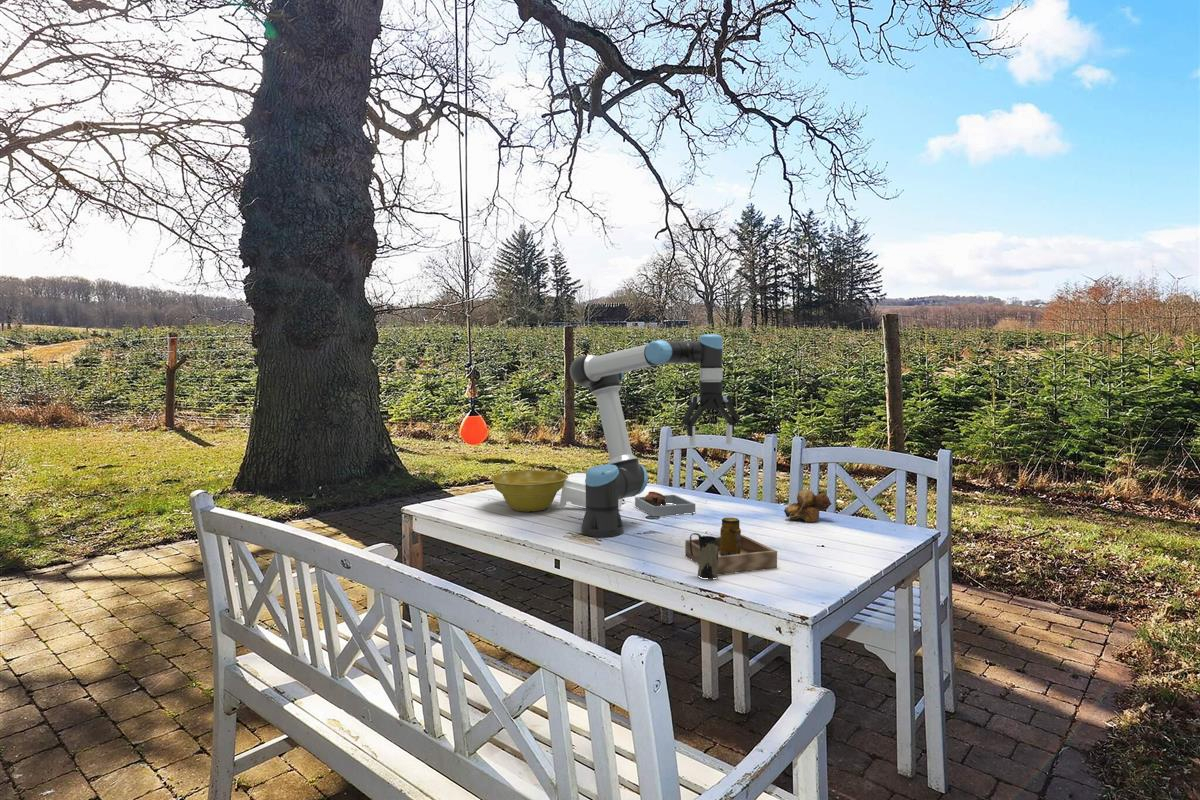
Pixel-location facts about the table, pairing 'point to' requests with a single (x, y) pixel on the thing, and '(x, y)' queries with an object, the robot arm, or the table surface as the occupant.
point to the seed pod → (807, 506)
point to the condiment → (730, 537)
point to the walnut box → (739, 556)
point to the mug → (707, 556)
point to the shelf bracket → (576, 494)
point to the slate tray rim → (679, 508)
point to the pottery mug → (655, 499)
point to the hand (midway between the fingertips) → (710, 445)
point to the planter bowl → (529, 488)
